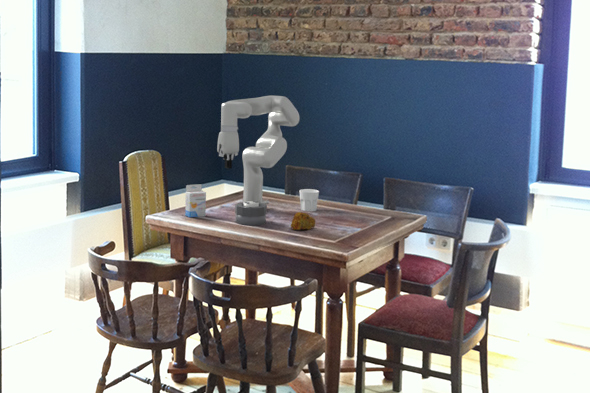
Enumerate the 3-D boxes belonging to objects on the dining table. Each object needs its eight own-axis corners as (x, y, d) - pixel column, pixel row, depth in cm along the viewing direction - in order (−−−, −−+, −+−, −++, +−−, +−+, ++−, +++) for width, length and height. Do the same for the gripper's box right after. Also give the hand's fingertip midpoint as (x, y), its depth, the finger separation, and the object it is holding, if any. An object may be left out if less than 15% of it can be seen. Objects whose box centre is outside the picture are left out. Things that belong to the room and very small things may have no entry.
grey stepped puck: (251, 217, 314) (252, 200, 313) (272, 222, 305) (272, 205, 303) (229, 221, 304) (229, 204, 303) (249, 226, 295) (250, 209, 293)
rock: (292, 235, 299) (302, 218, 303) (308, 241, 295) (318, 223, 299) (286, 223, 290) (297, 205, 294) (302, 228, 286) (313, 210, 290)
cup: (307, 212, 330) (308, 193, 328) (294, 209, 338) (295, 190, 336) (322, 210, 336) (323, 191, 334) (309, 207, 344) (310, 188, 342)
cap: (251, 211, 309) (251, 199, 308) (261, 213, 304) (262, 201, 303) (240, 213, 304) (240, 201, 303) (250, 215, 299) (250, 203, 298)
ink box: (189, 217, 308) (189, 186, 306) (185, 215, 312) (185, 185, 310) (206, 216, 313) (206, 185, 310) (201, 214, 317) (201, 184, 314)
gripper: (235, 128, 315) (235, 166, 319) (211, 129, 305) (210, 168, 308) (246, 129, 310) (245, 168, 314) (221, 130, 300) (221, 170, 303)
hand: (228, 168), depth 311 cm, fingers closed
